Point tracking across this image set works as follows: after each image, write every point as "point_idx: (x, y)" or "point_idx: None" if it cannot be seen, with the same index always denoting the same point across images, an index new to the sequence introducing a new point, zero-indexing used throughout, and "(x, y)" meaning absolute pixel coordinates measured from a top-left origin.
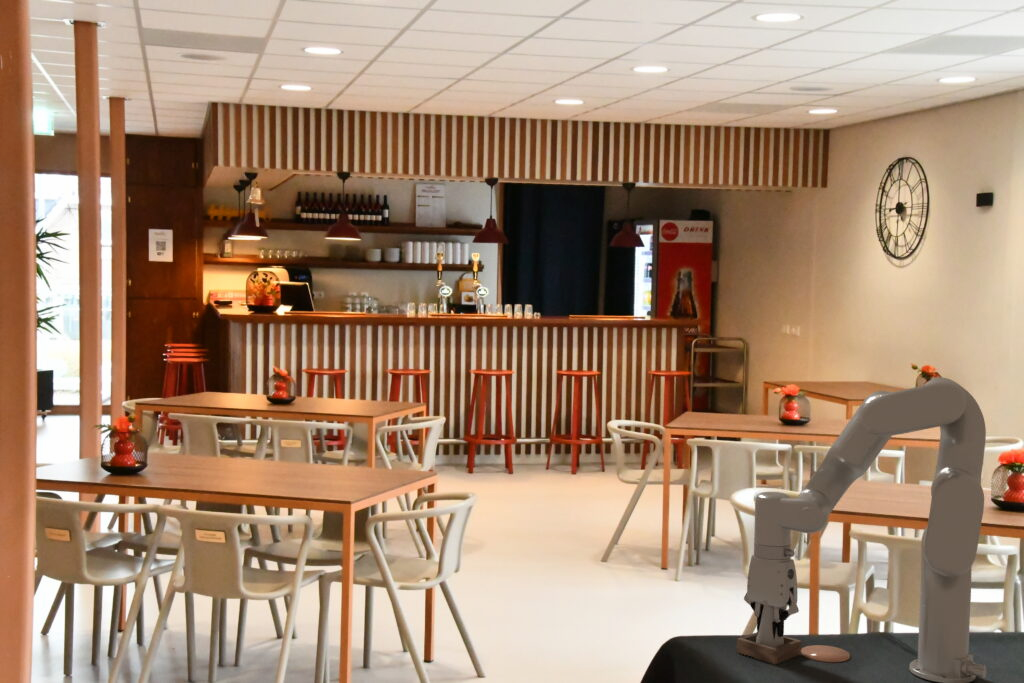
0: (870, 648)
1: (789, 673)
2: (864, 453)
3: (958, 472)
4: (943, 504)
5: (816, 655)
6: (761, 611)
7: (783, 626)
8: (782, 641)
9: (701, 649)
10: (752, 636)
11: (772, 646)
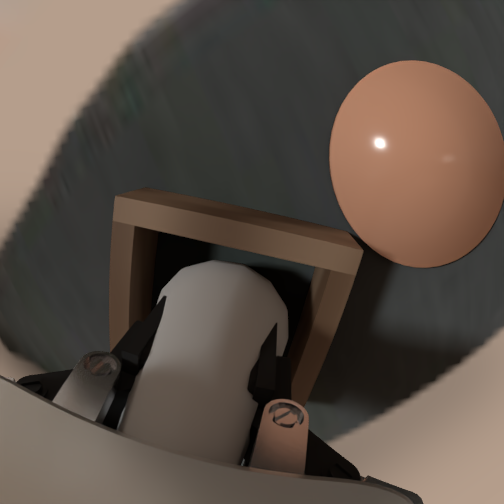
0: (499, 13)
1: (358, 423)
2: None
3: None
4: None
5: (413, 226)
6: (109, 418)
7: (290, 391)
8: (285, 336)
9: (60, 367)
10: (129, 321)
11: None
